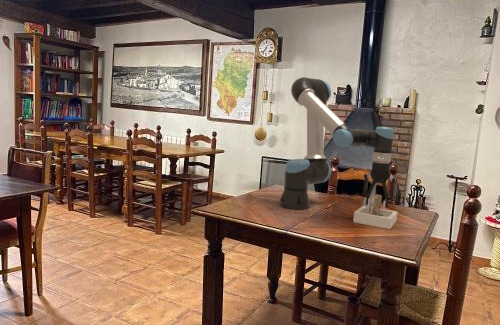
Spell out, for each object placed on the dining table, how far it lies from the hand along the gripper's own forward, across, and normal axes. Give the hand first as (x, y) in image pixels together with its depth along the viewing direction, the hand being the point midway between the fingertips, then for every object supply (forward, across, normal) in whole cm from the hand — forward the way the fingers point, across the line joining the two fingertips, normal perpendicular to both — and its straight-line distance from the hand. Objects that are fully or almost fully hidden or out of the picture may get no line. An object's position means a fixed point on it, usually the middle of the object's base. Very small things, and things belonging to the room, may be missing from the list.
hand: (376, 213), depth 166 cm
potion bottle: (+4, -6, +19) cm, 20 cm away
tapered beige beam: (+3, 0, 0) cm, 3 cm away
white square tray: (+4, 0, 0) cm, 4 cm away
